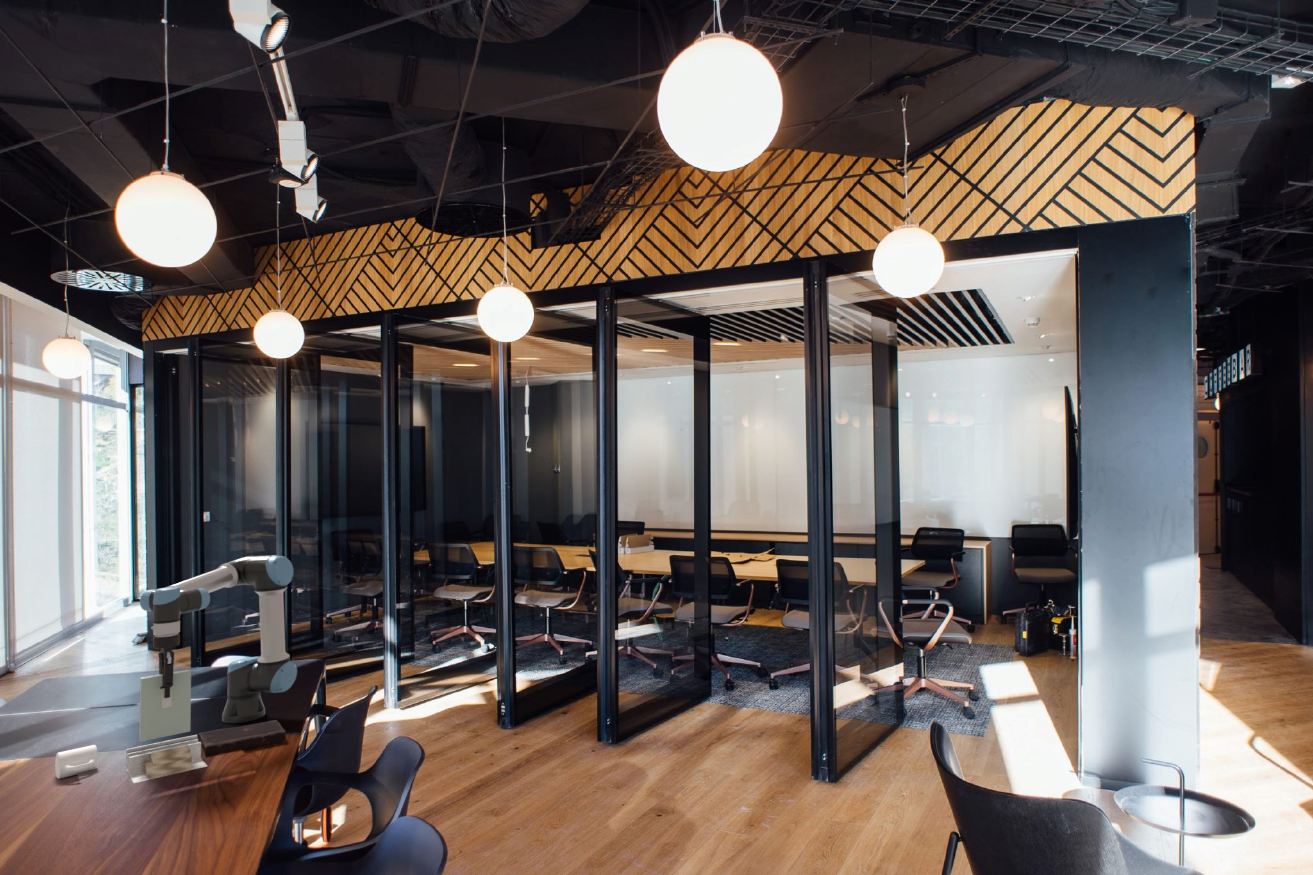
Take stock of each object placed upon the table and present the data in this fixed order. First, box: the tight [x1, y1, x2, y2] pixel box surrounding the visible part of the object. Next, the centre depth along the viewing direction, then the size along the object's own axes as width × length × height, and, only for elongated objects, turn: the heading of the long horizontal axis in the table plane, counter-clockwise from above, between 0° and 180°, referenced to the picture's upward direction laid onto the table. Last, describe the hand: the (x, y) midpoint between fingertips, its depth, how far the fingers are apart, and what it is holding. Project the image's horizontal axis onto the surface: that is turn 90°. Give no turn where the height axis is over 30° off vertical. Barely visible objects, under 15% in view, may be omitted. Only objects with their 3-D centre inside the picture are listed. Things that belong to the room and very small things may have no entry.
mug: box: [54, 744, 99, 780], centre depth 244 cm, size 12×10×8 cm
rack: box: [125, 734, 208, 784], centre depth 246 cm, size 20×18×7 cm
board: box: [138, 669, 192, 742], centre depth 251 cm, size 14×2×20 cm, turn 131°
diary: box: [198, 719, 287, 757], centre depth 270 cm, size 19×25×5 cm
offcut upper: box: [151, 745, 190, 766], centre depth 244 cm, size 10×5×3 cm, turn 131°
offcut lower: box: [145, 756, 192, 777], centre depth 244 cm, size 12×5×3 cm, turn 131°
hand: (165, 706), depth 251 cm, fingers closed on board, 2 cm apart
